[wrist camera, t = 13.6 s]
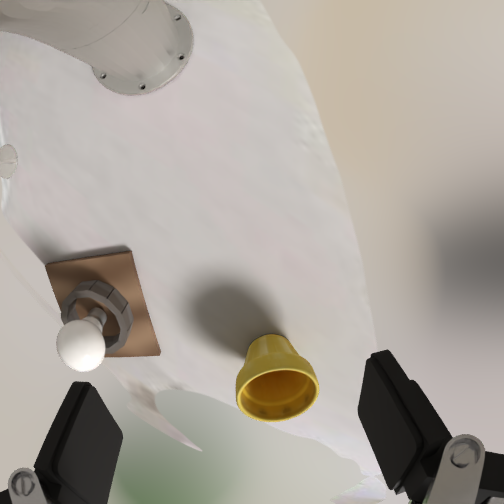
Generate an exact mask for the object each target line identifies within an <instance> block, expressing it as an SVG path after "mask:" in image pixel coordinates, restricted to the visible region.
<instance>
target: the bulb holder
mask: <svg viewBox="0 0 504 504" xmlns="http://www.w3.org/2000/svg"><path fill="white" fill-rule="evenodd" d="M45 268H46V271H47V274H48V277H49V279H50V283H51V286H52V288H53V292H54V294H55V297H56V299H57V302H58V305H59V307H60V310H61V319H62V321H63V324H64V325H65V324H66V323H68V322H70V321H73V320H82V319H83V318H85V317H87V315H88V314H89V312H90V311H91V309H92V308H100V309H102V310H103V311H104V312H105V313H106V315H107V320H106V322H105V324H104V326H103V328H102V335H103V338H104V341H105V355H104V357H139V356H160V353H161V350H160V347H159V344H158V341H157V338H156V335H155V332H154V329H153V326H152V323H151V320H150V317H149V313H148V310H147V307H146V303H145V300H144V296H143V293H142V289H141V286H140V282H139V279H138V275H137V271H136V267H135V263H134V259H133V255H132V251H126V252H119V253H112V254H105V255H99V256H92V257H85V258H79V259H72V260H66V261H59V262H53V263H48V264H47V265H45Z"/></svg>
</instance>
